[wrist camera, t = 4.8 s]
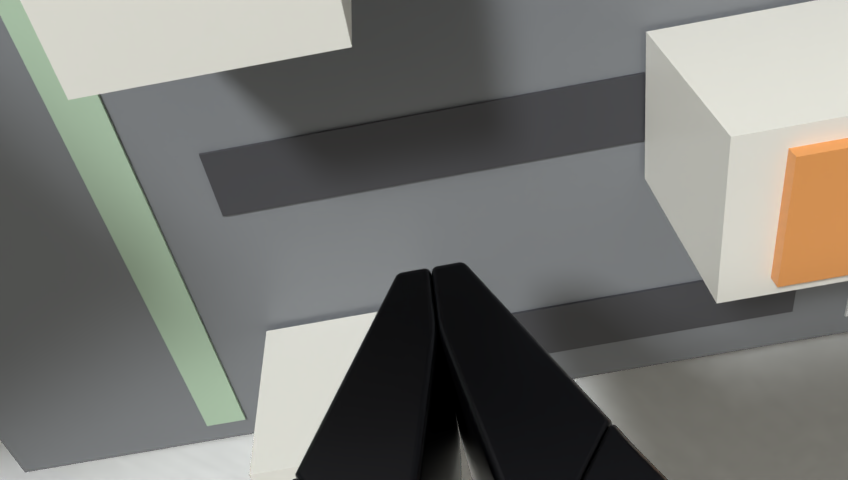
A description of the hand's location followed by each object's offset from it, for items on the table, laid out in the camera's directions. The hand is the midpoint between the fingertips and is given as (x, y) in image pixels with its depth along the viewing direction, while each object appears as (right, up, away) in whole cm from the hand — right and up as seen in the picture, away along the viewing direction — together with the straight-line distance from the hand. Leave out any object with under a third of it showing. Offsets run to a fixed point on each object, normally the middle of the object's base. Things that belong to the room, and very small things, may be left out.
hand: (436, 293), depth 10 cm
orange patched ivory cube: (+5, +3, +3) cm, 6 cm away
